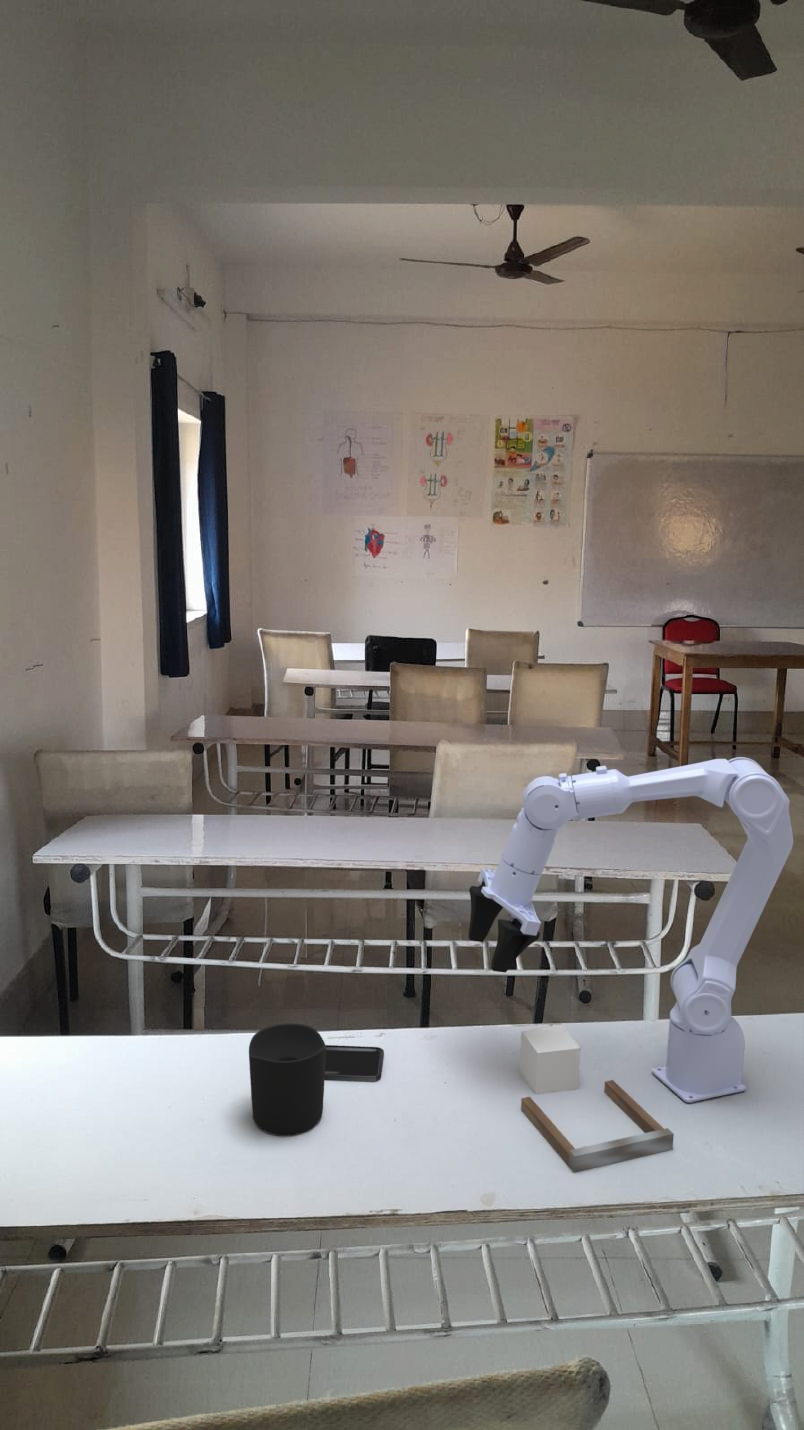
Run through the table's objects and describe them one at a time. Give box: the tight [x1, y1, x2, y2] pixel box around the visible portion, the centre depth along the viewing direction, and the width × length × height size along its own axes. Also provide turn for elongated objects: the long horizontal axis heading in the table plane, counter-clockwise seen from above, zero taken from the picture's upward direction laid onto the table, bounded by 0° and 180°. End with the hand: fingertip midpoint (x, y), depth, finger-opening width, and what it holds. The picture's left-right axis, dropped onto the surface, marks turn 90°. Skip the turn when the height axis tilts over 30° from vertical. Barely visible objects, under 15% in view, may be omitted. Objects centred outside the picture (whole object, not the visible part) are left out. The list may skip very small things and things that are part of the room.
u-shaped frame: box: [520, 1079, 675, 1173], centre depth 119 cm, size 13×13×2 cm
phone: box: [324, 1044, 385, 1083], centre depth 132 cm, size 8×1×15 cm
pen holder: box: [248, 1023, 327, 1137], centre depth 119 cm, size 9×9×10 cm
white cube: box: [519, 1025, 581, 1095], centre depth 129 cm, size 6×6×6 cm
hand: (486, 954), depth 130 cm, fingers open, 7 cm apart
